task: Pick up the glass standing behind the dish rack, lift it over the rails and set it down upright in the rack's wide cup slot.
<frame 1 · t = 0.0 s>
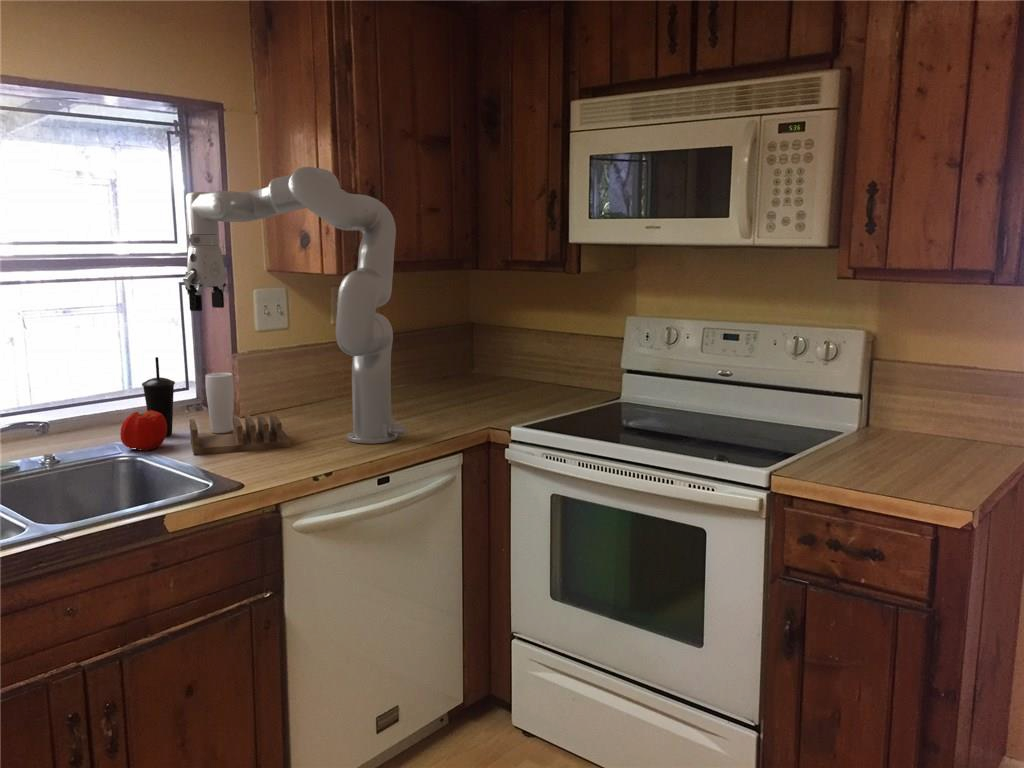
hand: (207, 309, 220), 31 cm above the countertop, tool pointing down, fingers open, 9 cm apart
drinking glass: (222, 432, 221), on the countertop
rack: (240, 444, 208), on the countertop
drinking cup: (161, 436, 216), on the countertop
tomato: (144, 449, 204), on the countertop
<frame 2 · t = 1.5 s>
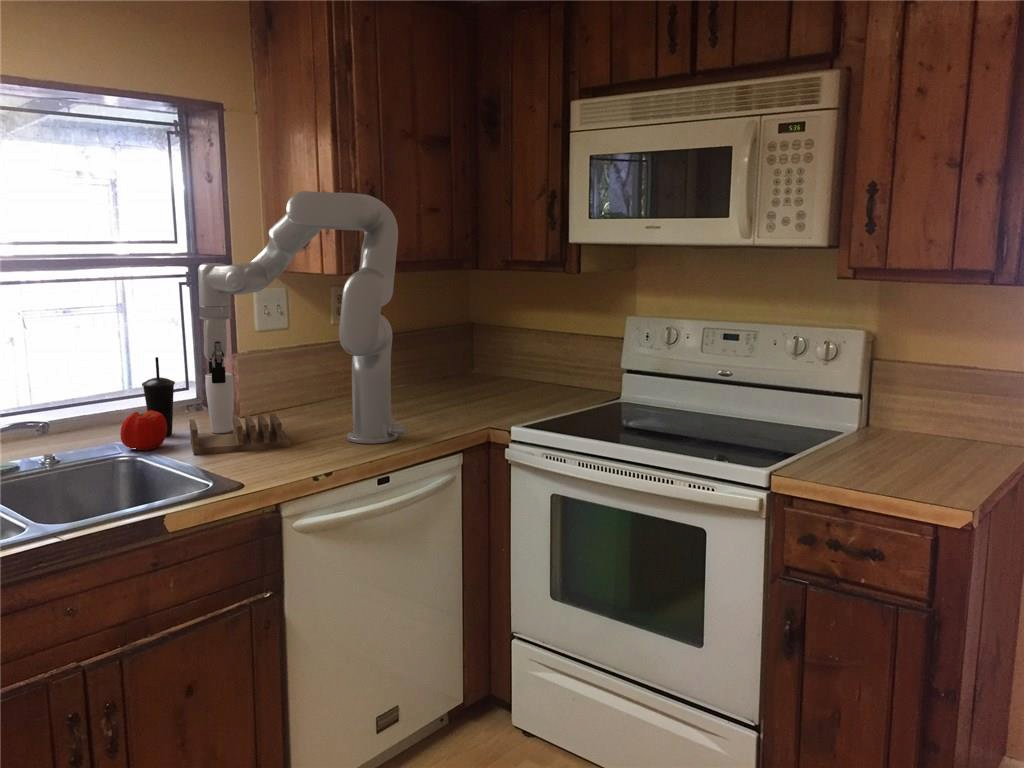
hand: (217, 379, 219), 14 cm above the countertop, tool pointing down, fingers open, 9 cm apart
nothing on the countertop moved.
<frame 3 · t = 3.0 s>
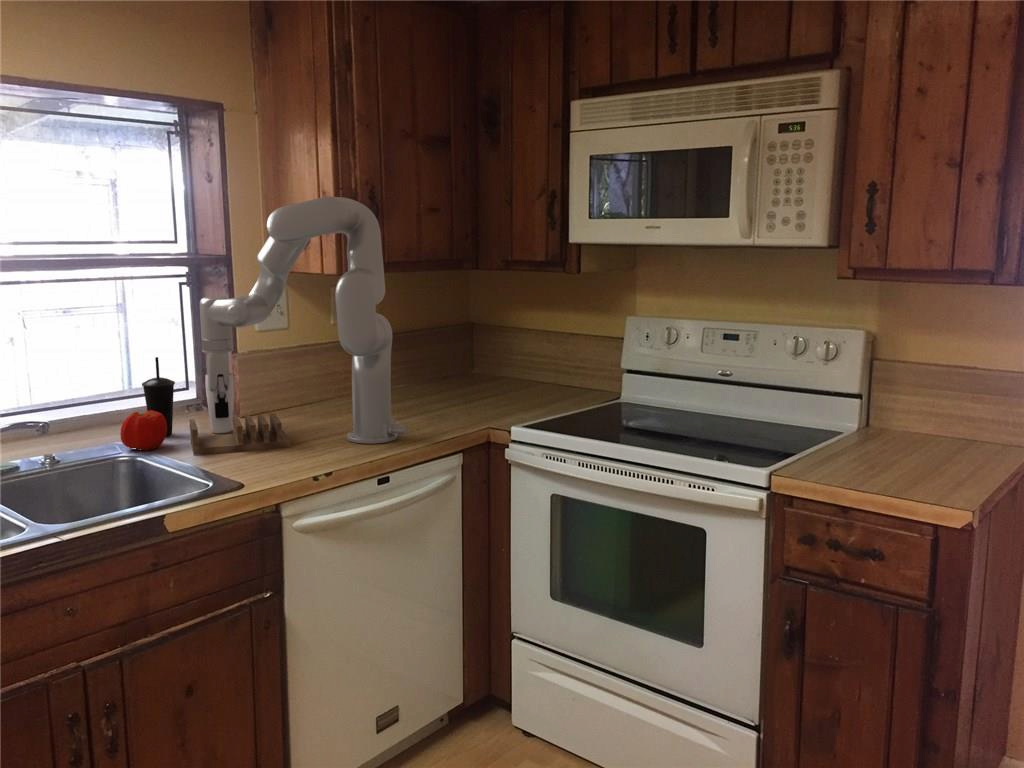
hand: (221, 414, 220), 5 cm above the countertop, tool pointing down, fingers closed on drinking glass, 5 cm apart
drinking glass: (222, 432, 221), on the countertop, touching gripper
everything else where it was.
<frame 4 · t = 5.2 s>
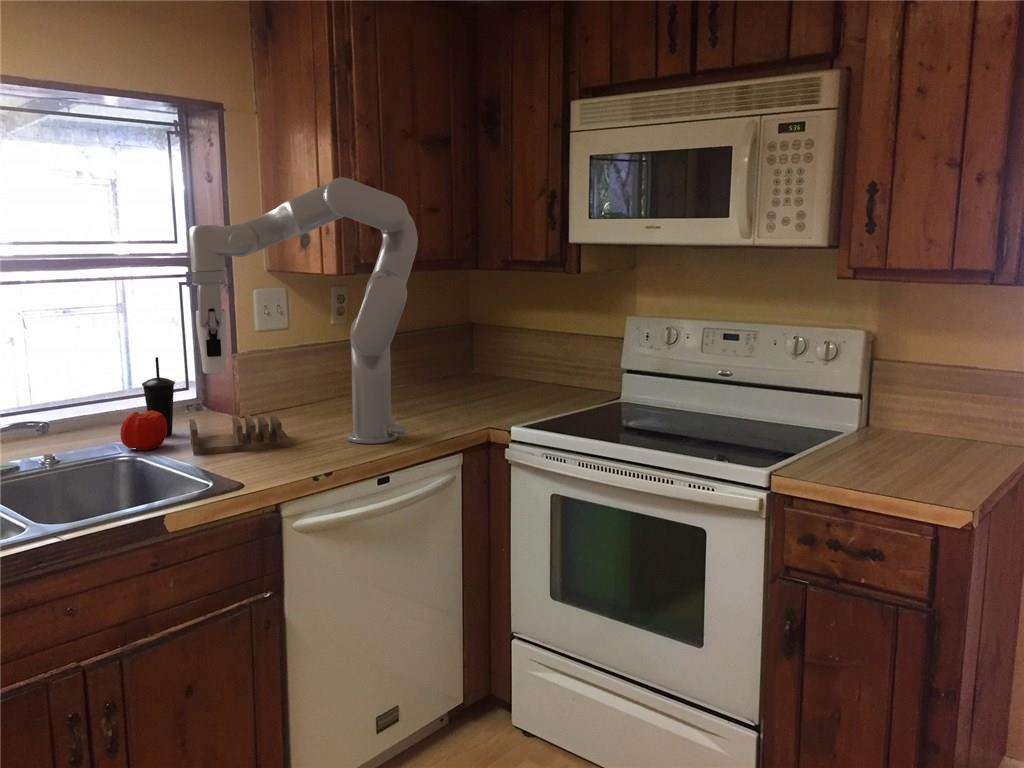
hand: (213, 353, 204), 22 cm above the countertop, tool pointing down, fingers closed on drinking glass, 5 cm apart
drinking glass: (214, 373, 205), point 17 cm above the countertop, touching gripper
everything else where it was.
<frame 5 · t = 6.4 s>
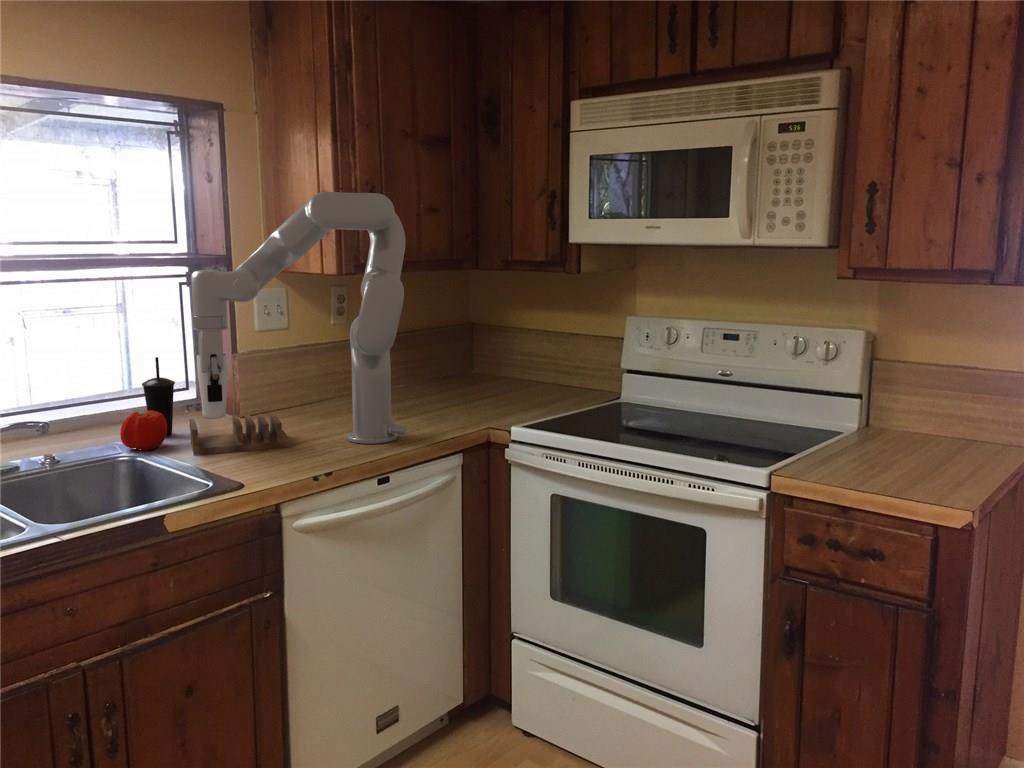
hand: (214, 398, 203), 12 cm above the countertop, tool pointing down, fingers closed on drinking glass, 5 cm apart
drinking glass: (214, 417, 204), point 7 cm above the countertop, touching gripper
everything else where it was.
when the fingers open (8 cm above the countertop, at t = 7.5 s): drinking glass drops 2 cm, resting on rack.
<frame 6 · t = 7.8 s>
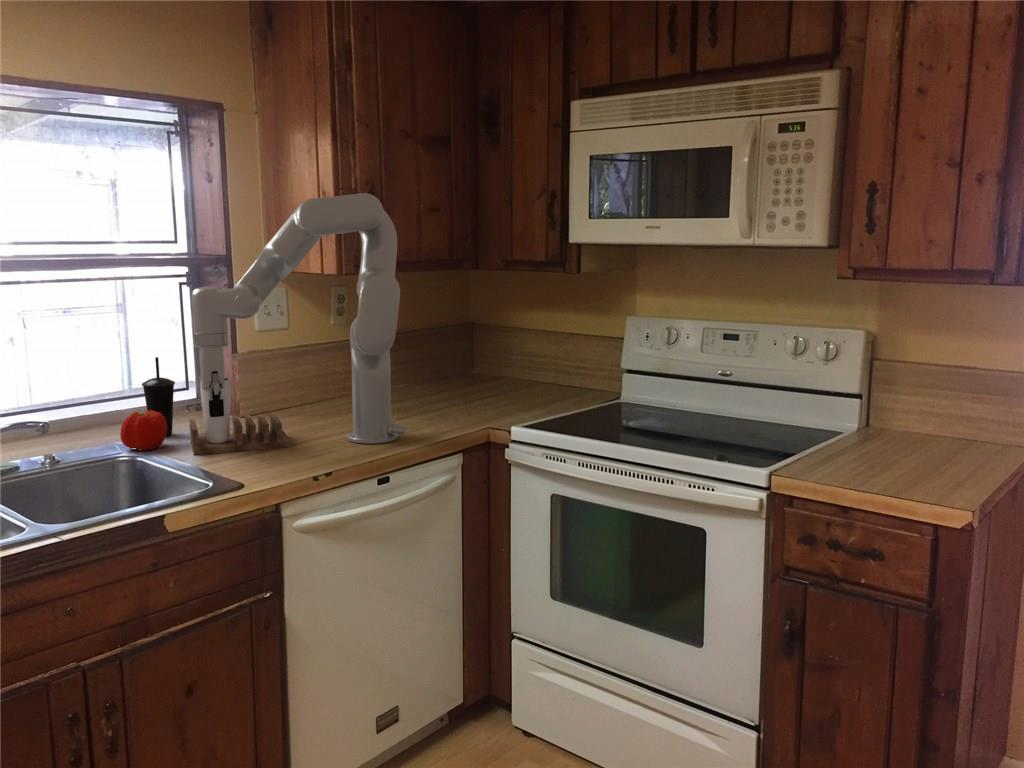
hand: (215, 412, 204), 8 cm above the countertop, tool pointing down, fingers open, 8 cm apart
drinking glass: (218, 442, 205), point 1 cm above the countertop, touching gripper, rack
everything else where it was.
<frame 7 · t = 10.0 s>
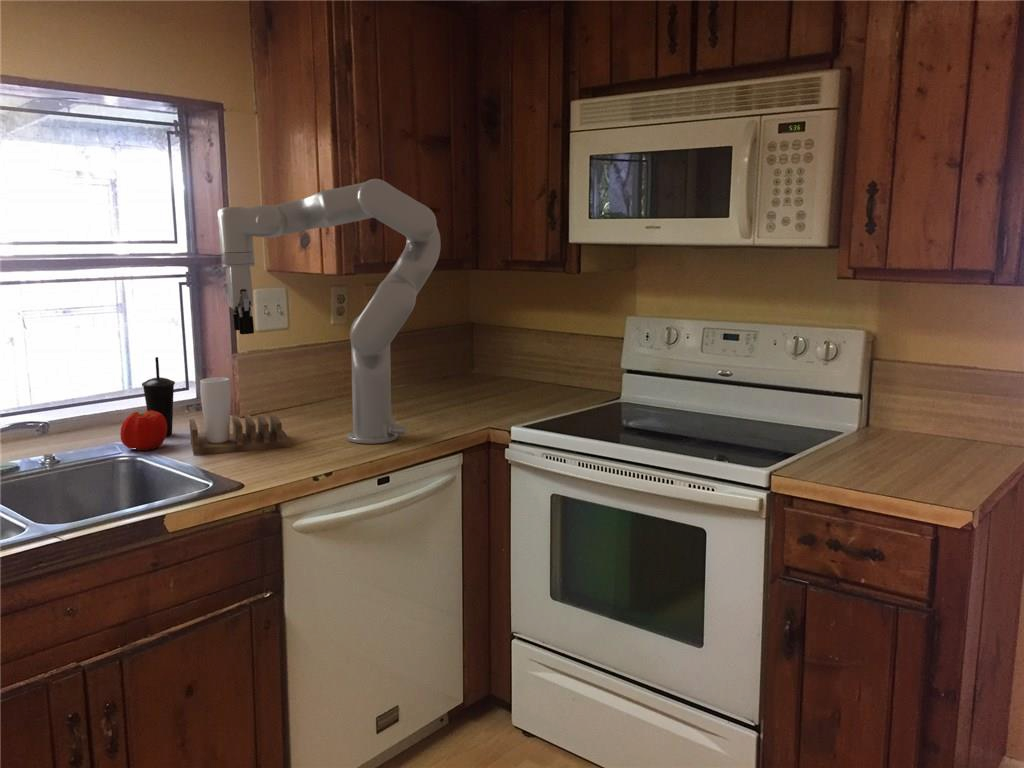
hand: (244, 331, 206), 27 cm above the countertop, tool pointing down, fingers open, 9 cm apart
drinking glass: (218, 442, 205), point 1 cm above the countertop, touching rack
everything else where it was.
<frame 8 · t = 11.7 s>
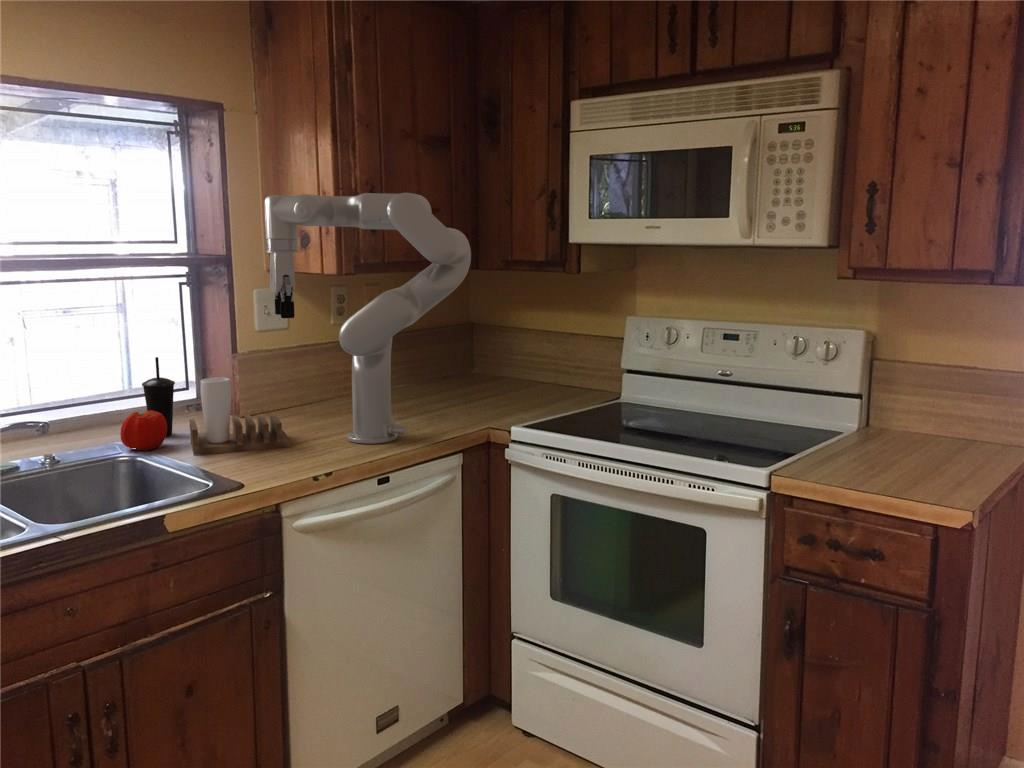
hand: (284, 316, 213), 30 cm above the countertop, tool pointing down, fingers open, 9 cm apart
nothing on the countertop moved.
at the end: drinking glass 0.7 cm from the target spot on the rack, point 1.3 cm above the rack's base; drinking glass tilted 0°; the gripper is holding nothing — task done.
